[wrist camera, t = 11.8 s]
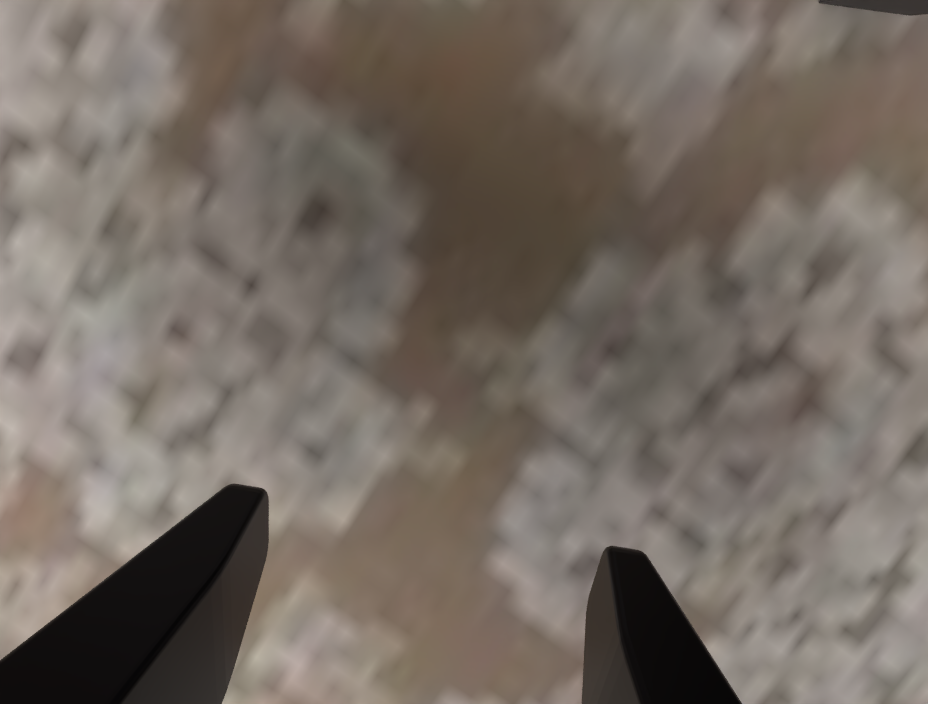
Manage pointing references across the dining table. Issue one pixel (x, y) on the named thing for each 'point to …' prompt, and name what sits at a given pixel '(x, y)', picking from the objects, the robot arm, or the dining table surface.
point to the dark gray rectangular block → (885, 5)
